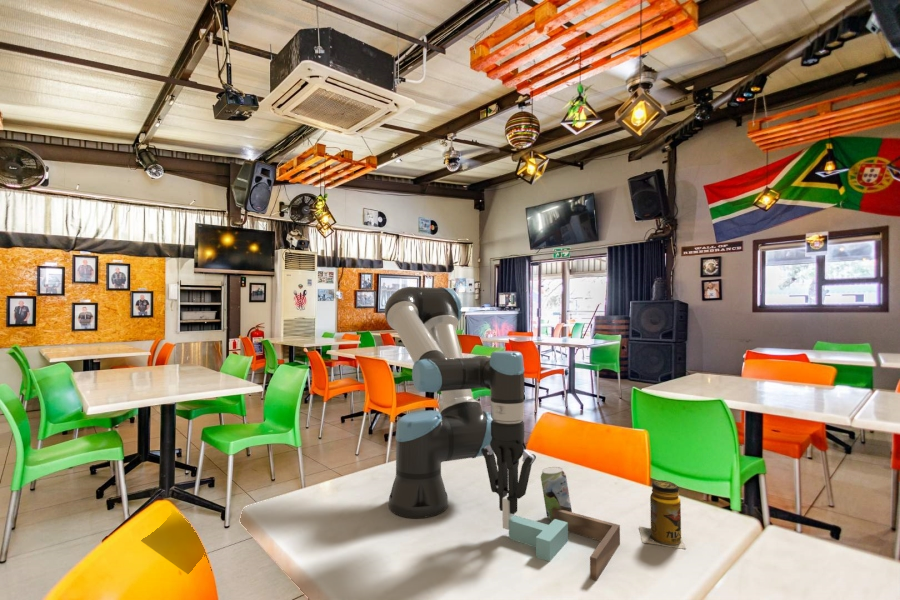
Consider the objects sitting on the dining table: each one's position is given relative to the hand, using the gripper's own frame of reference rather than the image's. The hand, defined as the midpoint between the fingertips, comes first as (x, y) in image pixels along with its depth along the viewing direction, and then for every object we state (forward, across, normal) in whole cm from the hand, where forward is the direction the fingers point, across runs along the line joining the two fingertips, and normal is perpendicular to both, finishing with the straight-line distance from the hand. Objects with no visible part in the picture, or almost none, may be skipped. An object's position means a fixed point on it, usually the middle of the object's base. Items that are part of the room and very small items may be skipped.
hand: (508, 526), depth 100 cm
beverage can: (+2, +6, +14) cm, 15 cm away
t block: (+2, +7, 0) cm, 7 cm away
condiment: (+2, +28, +19) cm, 34 cm away
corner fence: (+2, +14, +3) cm, 14 cm away
